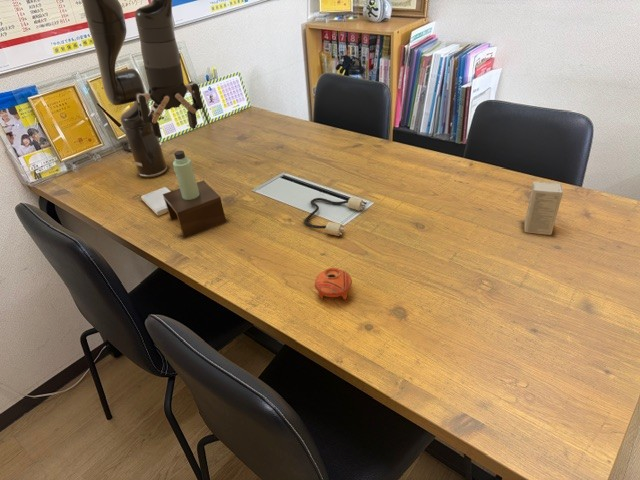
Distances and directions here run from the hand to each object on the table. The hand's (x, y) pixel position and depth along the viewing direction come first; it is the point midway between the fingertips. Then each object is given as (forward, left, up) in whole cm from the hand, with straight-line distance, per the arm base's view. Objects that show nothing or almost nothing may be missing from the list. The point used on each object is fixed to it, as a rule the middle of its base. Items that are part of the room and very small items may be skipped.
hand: (175, 132), depth 105 cm
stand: (-4, 0, -28) cm, 28 cm away
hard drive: (-20, -5, -28) cm, 35 cm away
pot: (+44, +13, -28) cm, 53 cm away
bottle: (-4, 0, -20) cm, 20 cm away
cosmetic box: (+56, +66, -28) cm, 91 cm away
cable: (+19, +29, -28) cm, 45 cm away
